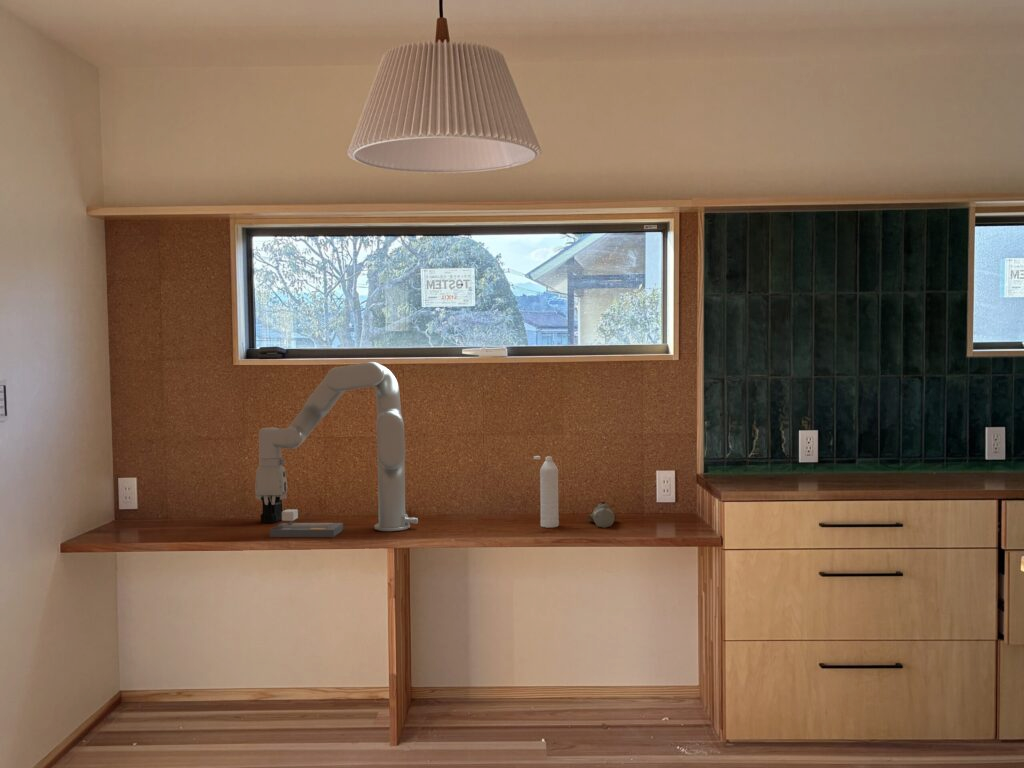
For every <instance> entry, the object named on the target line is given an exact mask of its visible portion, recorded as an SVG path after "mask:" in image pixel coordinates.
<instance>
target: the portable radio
mask: <svg viewBox="0 0 1024 768" xmlns="http://www.w3.org/2000/svg"><path fill="white" fill-rule="evenodd" d="M270 500H271V502H272V496H270ZM261 501H262V500H261ZM283 511H284V510H283V499H281V500H279V501H278V502H277V503H276V513H275V515H274V516H267V513H266V505H265V503H264V502H263V501H262V512H261V514H260V523H262V524H276V523H278V522H281V521H282V512H283Z"/></svg>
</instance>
